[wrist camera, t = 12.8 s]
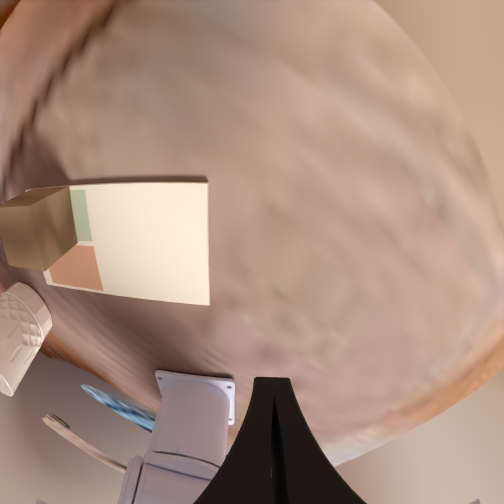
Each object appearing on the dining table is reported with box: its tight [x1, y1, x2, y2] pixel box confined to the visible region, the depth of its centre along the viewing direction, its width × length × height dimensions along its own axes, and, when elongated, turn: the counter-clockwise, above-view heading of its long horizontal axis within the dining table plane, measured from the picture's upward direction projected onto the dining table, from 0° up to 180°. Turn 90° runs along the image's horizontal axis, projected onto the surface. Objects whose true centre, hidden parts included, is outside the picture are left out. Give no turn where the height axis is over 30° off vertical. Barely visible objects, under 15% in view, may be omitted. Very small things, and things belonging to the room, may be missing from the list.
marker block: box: [0, 186, 78, 271], centre depth 15 cm, size 4×4×4 cm
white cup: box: [0, 282, 52, 396], centre depth 18 cm, size 8×8×10 cm
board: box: [25, 182, 210, 305], centre depth 18 cm, size 9×16×1 cm, turn 87°
